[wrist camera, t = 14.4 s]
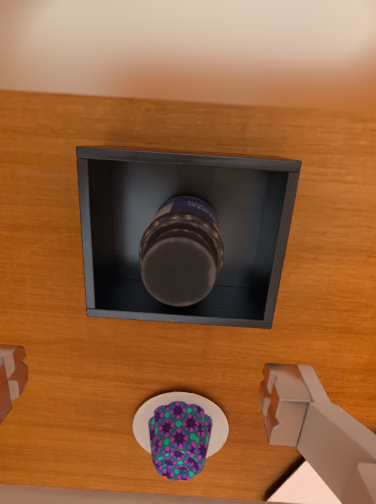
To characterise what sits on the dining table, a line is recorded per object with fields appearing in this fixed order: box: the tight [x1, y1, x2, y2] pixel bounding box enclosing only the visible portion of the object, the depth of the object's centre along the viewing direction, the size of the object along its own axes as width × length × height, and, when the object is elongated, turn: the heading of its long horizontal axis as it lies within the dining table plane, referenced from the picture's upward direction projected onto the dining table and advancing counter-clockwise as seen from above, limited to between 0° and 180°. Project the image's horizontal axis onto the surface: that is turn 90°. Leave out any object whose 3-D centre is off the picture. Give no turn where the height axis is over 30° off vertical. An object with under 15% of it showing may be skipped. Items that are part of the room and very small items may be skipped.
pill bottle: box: [139, 195, 224, 306], centre depth 23 cm, size 6×6×11 cm
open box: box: [76, 145, 302, 329], centre depth 26 cm, size 14×16×7 cm
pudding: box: [133, 392, 229, 481], centre depth 36 cm, size 12×12×5 cm
